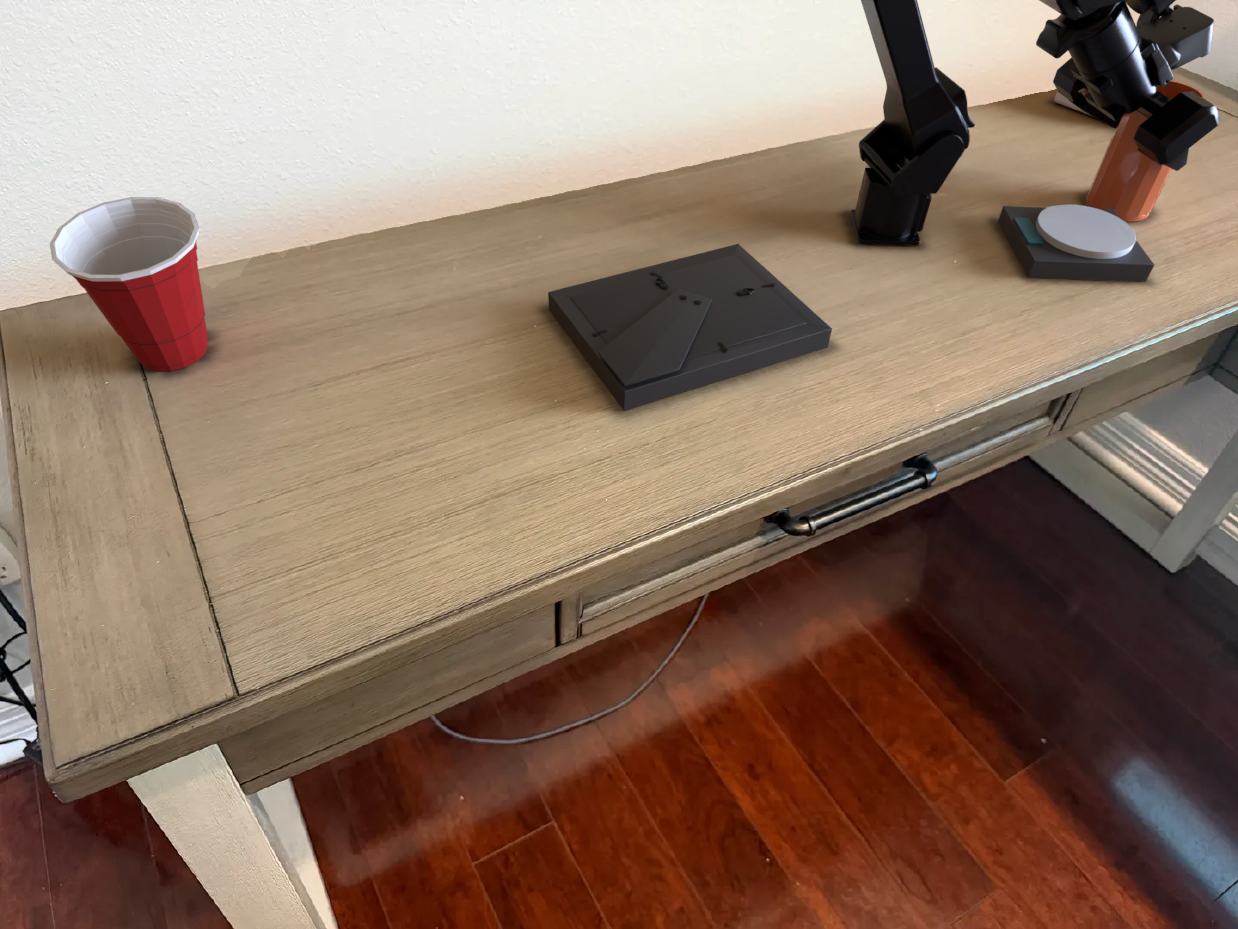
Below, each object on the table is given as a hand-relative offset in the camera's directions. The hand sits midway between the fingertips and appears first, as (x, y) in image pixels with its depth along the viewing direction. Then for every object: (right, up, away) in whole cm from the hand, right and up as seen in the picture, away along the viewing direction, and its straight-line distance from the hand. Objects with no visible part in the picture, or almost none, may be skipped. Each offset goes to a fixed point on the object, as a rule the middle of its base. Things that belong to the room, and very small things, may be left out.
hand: (1154, 148), depth 97 cm
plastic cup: (-97, -25, -19) cm, 102 cm away
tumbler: (-2, -5, +5) cm, 7 cm away
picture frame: (-52, -22, -14) cm, 58 cm away
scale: (-11, -12, -3) cm, 16 cm away
